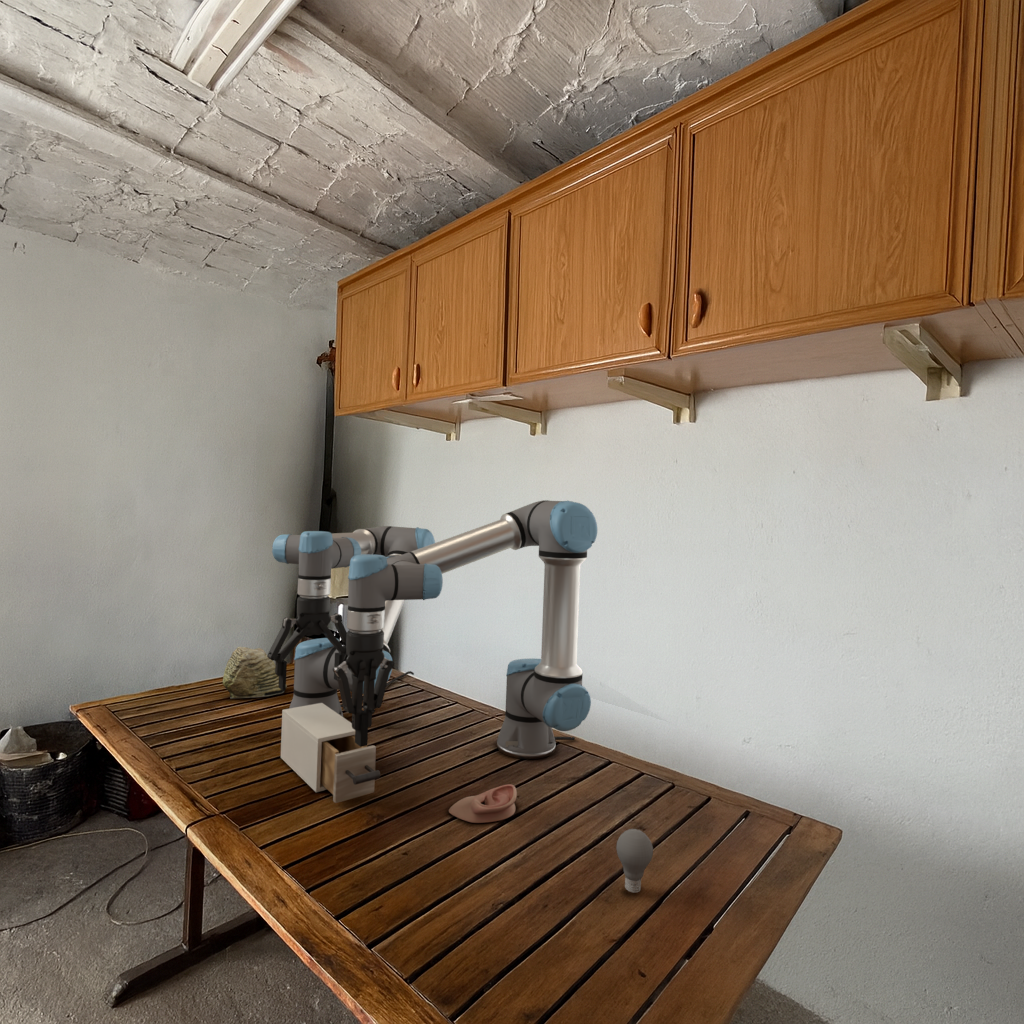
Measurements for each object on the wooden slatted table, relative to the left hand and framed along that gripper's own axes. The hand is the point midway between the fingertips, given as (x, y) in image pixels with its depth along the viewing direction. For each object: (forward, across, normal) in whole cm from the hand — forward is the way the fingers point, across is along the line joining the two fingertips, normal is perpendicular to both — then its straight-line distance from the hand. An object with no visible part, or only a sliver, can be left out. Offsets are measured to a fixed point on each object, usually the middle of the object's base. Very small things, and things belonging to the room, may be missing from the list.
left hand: (310, 684), depth 152 cm
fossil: (+18, +5, +56) cm, 59 cm away
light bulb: (+18, +24, -80) cm, 85 cm away
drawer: (+17, 0, -18) cm, 25 cm away
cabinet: (+18, 0, -6) cm, 19 cm away
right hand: (+5, 0, -27) cm, 28 cm away
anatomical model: (+18, +20, -44) cm, 51 cm away
